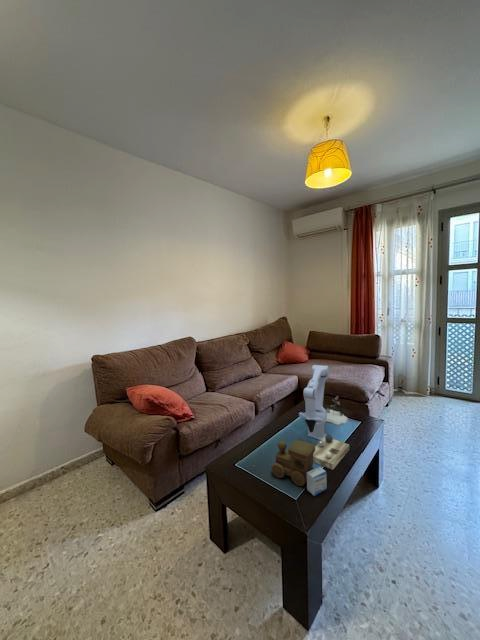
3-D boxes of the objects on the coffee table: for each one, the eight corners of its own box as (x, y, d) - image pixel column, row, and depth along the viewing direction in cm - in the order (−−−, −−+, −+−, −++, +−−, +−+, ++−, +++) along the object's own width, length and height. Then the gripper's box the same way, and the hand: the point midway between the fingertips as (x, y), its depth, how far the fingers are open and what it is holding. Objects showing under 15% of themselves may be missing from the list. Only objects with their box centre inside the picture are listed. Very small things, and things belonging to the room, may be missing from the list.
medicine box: (313, 496, 111) (313, 477, 110) (306, 490, 115) (306, 471, 114) (327, 489, 115) (326, 471, 114) (319, 483, 119) (319, 465, 118)
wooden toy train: (317, 476, 123) (316, 443, 122) (308, 491, 114) (307, 456, 113) (279, 463, 135) (278, 432, 134) (269, 475, 126) (267, 443, 124)
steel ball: (316, 446, 143) (316, 441, 142) (319, 443, 145) (319, 438, 145) (322, 448, 140) (322, 443, 140) (324, 445, 143) (324, 440, 143)
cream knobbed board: (307, 459, 137) (307, 453, 136) (325, 441, 153) (325, 436, 152) (332, 470, 127) (332, 464, 127) (349, 449, 143) (349, 444, 143)
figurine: (313, 417, 182) (314, 395, 180) (326, 409, 195) (327, 388, 192) (340, 429, 168) (342, 405, 166) (352, 419, 180) (354, 397, 178)
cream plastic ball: (324, 457, 132) (324, 452, 132) (326, 454, 135) (326, 449, 134) (330, 459, 130) (329, 454, 130) (332, 457, 133) (332, 451, 132)
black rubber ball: (324, 442, 147) (323, 435, 146) (327, 439, 150) (326, 432, 149) (330, 444, 144) (330, 437, 144) (333, 441, 147) (333, 434, 146)
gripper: (295, 407, 147) (296, 430, 148) (319, 414, 137) (320, 438, 138) (302, 403, 152) (302, 425, 153) (325, 409, 142) (326, 433, 143)
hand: (311, 431), depth 146 cm, fingers closed
